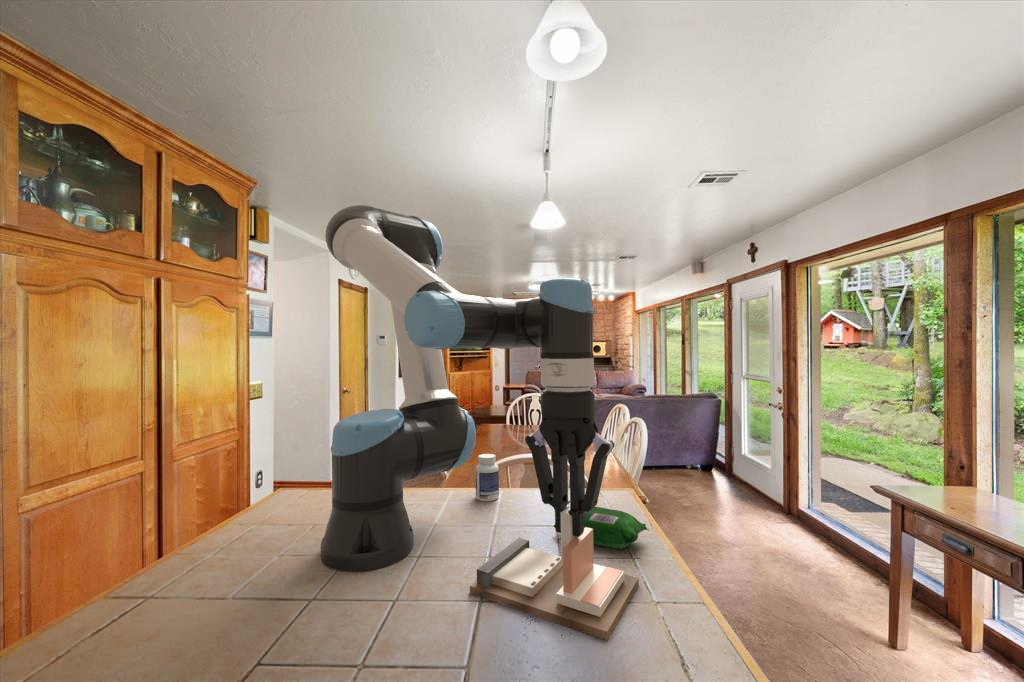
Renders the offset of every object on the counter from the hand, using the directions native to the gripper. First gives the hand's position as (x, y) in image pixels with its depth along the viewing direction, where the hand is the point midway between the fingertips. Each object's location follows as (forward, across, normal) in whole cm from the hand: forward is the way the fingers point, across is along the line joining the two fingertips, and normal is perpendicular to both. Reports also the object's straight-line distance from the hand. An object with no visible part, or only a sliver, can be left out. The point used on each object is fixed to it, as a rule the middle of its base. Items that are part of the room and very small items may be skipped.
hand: (570, 556), depth 62 cm
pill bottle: (+5, -32, +27) cm, 43 cm away
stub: (+4, +3, 0) cm, 5 cm away
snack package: (+6, -2, +19) cm, 20 cm away
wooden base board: (+5, -2, 0) cm, 6 cm away
